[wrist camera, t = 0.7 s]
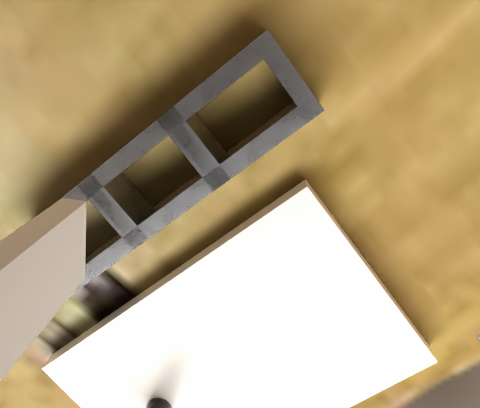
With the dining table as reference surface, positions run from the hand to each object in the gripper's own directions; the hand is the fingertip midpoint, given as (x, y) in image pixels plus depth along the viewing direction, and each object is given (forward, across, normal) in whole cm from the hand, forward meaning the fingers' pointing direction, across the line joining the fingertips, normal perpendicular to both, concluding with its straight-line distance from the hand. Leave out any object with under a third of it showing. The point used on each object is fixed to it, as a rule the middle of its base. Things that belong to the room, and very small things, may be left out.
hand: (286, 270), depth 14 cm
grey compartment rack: (+20, -8, -3) cm, 22 cm away
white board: (+20, -1, -18) cm, 27 cm away
